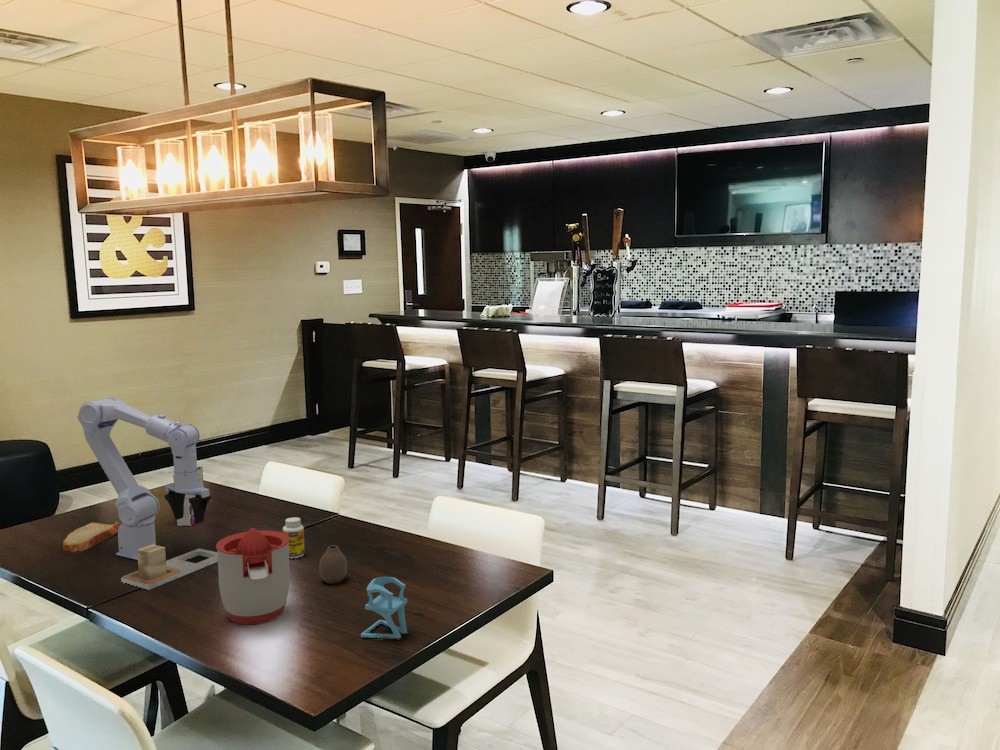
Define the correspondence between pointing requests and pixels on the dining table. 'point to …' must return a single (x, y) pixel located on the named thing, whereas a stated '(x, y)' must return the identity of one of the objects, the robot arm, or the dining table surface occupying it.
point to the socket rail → (173, 569)
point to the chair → (386, 607)
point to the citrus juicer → (254, 575)
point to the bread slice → (89, 536)
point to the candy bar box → (188, 511)
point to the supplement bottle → (295, 537)
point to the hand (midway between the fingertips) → (189, 520)
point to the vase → (333, 565)
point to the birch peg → (151, 562)
